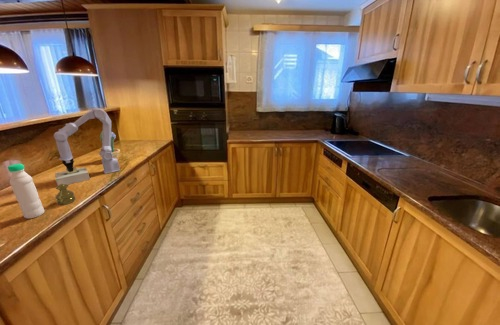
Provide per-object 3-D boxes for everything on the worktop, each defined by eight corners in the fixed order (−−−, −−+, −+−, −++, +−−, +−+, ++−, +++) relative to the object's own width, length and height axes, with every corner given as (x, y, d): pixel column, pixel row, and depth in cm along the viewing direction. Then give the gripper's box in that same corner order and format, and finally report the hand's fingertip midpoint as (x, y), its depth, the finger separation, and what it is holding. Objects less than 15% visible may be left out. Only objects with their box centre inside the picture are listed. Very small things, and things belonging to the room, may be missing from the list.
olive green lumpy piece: (64, 198, 116) (59, 181, 112) (79, 198, 116) (74, 181, 113) (53, 205, 109) (47, 187, 106) (69, 205, 109) (63, 187, 106)
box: (87, 173, 150) (85, 167, 149) (90, 179, 140) (88, 172, 139) (57, 180, 140) (55, 173, 139) (58, 186, 131) (55, 179, 129)
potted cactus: (111, 164, 170) (103, 132, 162) (96, 162, 174) (87, 132, 165) (126, 158, 184) (120, 129, 176) (112, 157, 188) (105, 128, 180)
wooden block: (77, 173, 142) (75, 166, 141) (78, 174, 140) (76, 167, 139) (68, 175, 139) (65, 168, 137) (68, 176, 137) (66, 169, 136)
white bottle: (47, 213, 102) (29, 163, 94) (27, 221, 96) (5, 168, 88) (41, 209, 105) (23, 161, 97) (22, 216, 100) (0, 166, 91)
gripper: (56, 149, 137) (62, 169, 141) (56, 154, 126) (63, 175, 131) (70, 147, 141) (76, 167, 146) (71, 152, 131) (78, 172, 135)
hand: (71, 171), depth 138 cm, fingers closed on wooden block, 2 cm apart
